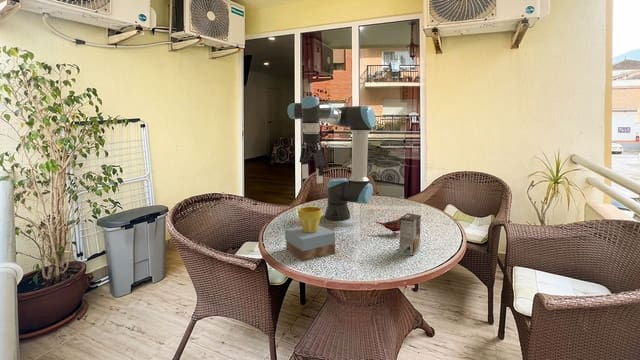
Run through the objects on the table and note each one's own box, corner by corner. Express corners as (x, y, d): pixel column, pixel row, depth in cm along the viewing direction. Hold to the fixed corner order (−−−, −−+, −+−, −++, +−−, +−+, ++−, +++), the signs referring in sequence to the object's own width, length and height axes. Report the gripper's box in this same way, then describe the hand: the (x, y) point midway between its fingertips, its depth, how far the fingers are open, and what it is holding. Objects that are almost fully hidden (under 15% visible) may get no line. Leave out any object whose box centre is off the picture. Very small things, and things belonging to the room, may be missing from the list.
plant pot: (298, 227, 157) (297, 206, 155) (320, 226, 158) (320, 205, 156) (298, 234, 147) (298, 212, 145) (322, 234, 147) (322, 211, 146)
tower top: (315, 233, 163) (315, 223, 163) (334, 243, 150) (334, 232, 149) (285, 240, 155) (285, 229, 154) (302, 251, 142) (302, 239, 141)
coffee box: (406, 247, 157) (407, 212, 155) (420, 249, 154) (421, 214, 151) (398, 253, 150) (399, 217, 147) (412, 256, 146) (414, 219, 144)
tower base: (317, 243, 164) (317, 233, 163) (335, 254, 151) (335, 243, 150) (286, 250, 157) (286, 239, 156) (302, 262, 143) (302, 251, 142)
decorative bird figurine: (410, 235, 172) (411, 216, 171) (374, 234, 175) (374, 215, 174) (409, 233, 175) (410, 214, 173) (374, 232, 178) (374, 213, 176)
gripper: (291, 132, 160) (293, 177, 164) (317, 134, 139) (318, 186, 143) (305, 131, 163) (307, 175, 168) (333, 133, 142) (334, 184, 146)
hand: (312, 180), depth 155 cm, fingers open, 13 cm apart
